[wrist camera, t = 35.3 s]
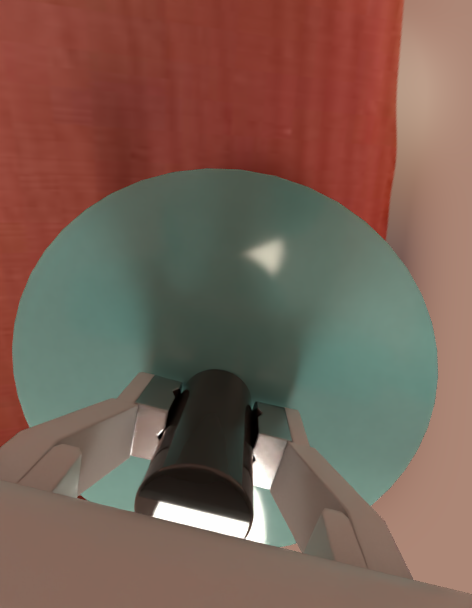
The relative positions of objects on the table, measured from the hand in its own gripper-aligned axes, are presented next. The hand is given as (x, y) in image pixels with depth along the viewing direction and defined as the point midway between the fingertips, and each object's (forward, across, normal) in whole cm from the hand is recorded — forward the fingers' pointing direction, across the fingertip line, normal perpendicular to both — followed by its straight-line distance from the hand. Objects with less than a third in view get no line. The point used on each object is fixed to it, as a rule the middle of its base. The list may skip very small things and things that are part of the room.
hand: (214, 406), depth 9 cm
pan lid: (+1, 0, 0) cm, 1 cm away
